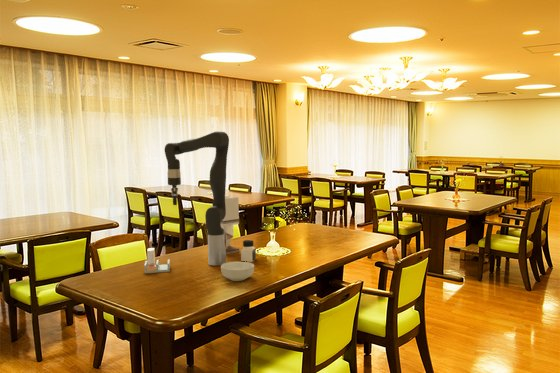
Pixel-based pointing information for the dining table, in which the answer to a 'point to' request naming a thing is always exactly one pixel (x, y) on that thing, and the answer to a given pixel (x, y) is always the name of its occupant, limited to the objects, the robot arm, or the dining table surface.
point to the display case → (230, 222)
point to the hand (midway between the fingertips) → (174, 204)
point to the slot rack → (157, 267)
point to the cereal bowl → (237, 270)
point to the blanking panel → (151, 257)
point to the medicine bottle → (248, 251)
